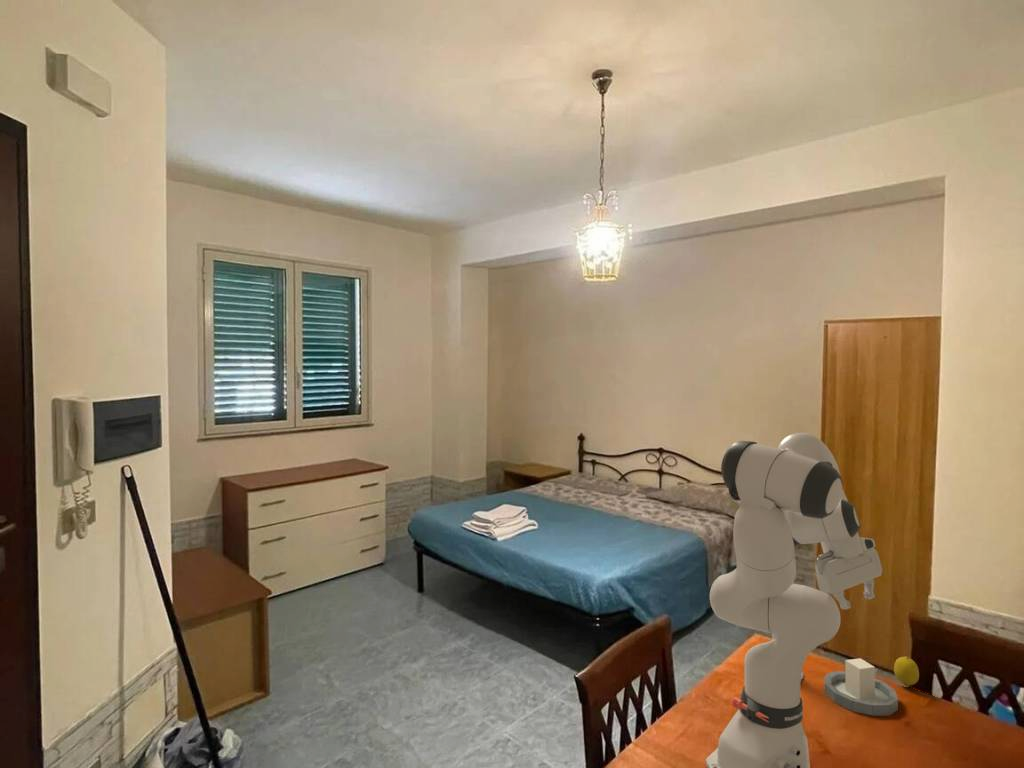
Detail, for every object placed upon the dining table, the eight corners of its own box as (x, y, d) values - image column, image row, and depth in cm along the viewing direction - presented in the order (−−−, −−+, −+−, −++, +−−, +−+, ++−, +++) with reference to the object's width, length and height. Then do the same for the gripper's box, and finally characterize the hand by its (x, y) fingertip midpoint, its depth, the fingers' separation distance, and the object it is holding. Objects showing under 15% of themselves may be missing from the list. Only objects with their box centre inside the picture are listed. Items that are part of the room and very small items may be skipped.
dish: (877, 723, 135) (877, 712, 135) (812, 691, 149) (812, 682, 149) (909, 702, 144) (909, 692, 144) (844, 674, 157) (844, 665, 157)
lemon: (910, 681, 154) (911, 652, 154) (923, 692, 148) (923, 662, 148) (889, 680, 154) (889, 651, 154) (901, 691, 149) (901, 661, 149)
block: (859, 700, 144) (859, 669, 144) (845, 690, 148) (845, 660, 148) (874, 697, 145) (874, 666, 145) (860, 688, 149) (860, 658, 149)
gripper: (825, 556, 136) (842, 616, 133) (878, 538, 144) (895, 594, 142) (803, 556, 141) (819, 613, 139) (855, 538, 150) (871, 592, 147)
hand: (858, 603), depth 140 cm, fingers open, 8 cm apart
